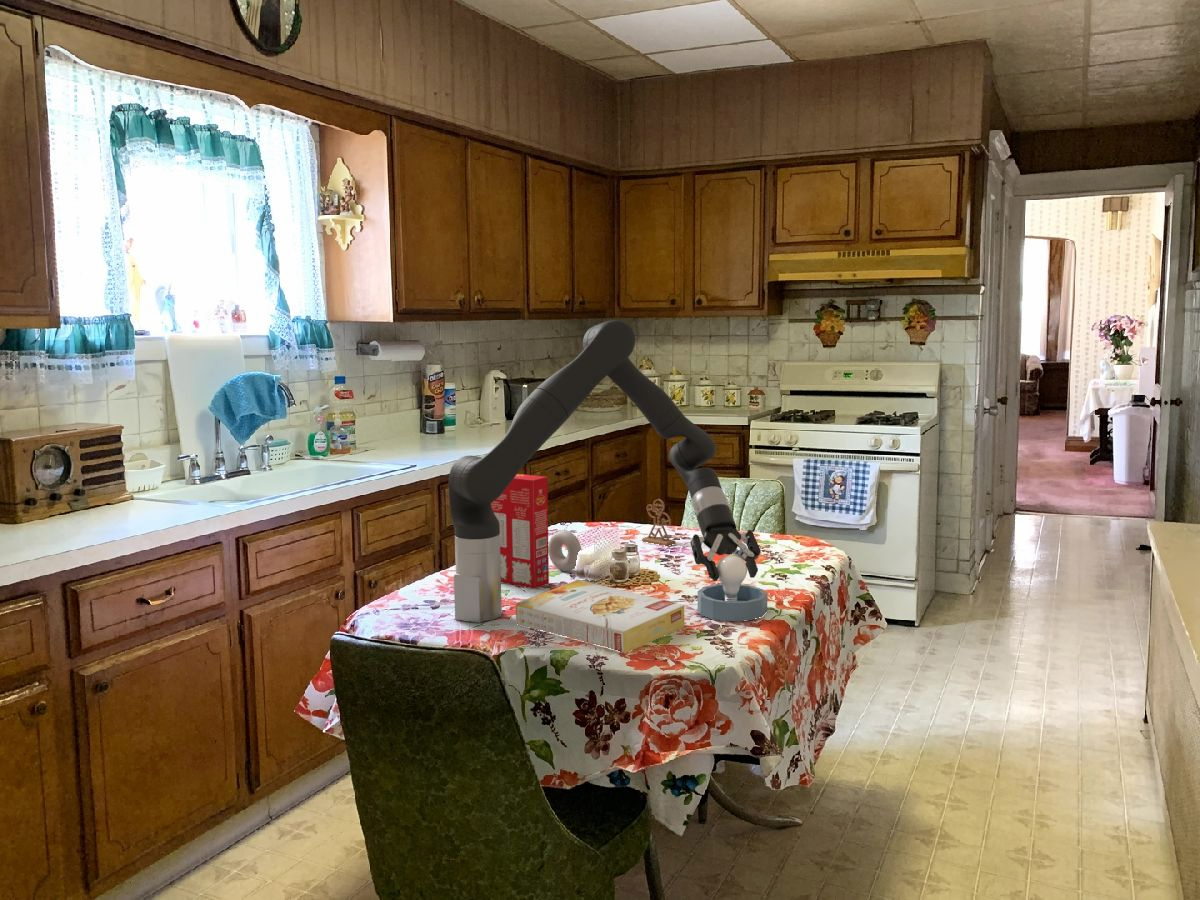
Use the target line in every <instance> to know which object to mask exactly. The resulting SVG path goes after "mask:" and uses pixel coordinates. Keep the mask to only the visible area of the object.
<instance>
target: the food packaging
mask: <svg viewBox="0 0 1200 900" xmlns="http://www.w3.org/2000/svg"><path fill="white" fill-rule="evenodd" d="M548 487H549V486H548V476H544V475H543V476H542V475H533V474H532V475H531V474H523V473H517V475H516V476H515V477H514V479H513V480H512V481H511V483H510V484H509V485H508V487H507V488H506V489H505V490H504V492H503V493H502V494H501V495H500V496H499V497H498V498H497V499H496V500H494V501H493V502H491V507H492V510H493V512H494V514H495V516H496V517H497V519H498V520H499V524H500V566H501V582H503V583H502V584H507V583H509V584H508V585H512V584H514V585H513V586H517V585H519V587H523V586H526V587H525V588H528V587H531V588H530V589H533V588H536V589H538V588H540V586H541V587H543V585H544V586H546V585H548V583H549V584H550V571H549V569H550V568H549V565H550V564H549V559H550V556H549V552H548V545H549V506H548V505H549V503H548V498H549V496H548ZM545 584H546V585H545ZM537 587H538V588H537Z"/></svg>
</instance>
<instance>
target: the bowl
mask: <svg viewBox="0 0 1200 900" xmlns="http://www.w3.org/2000/svg"><path fill="white" fill-rule="evenodd" d="M768 597H769V596H768V593H767V592H766V591H765V590H764V589H763V588H760V587H757V586H754V585H750V584H742V583H741V585H740V588H739V592H738V596H737V601H725V592H724V590H723V585H722V583H716V584H715V583H714V584H710V585H705V586H703V587H701V589H699V590H697V609H696V610H697V611H698V613H699V615H700V616H702V617H704V616H705V618H707V617H708V618H707V619H709V618H710V620H712V619H714V620H713V621H718V620H723V621H722V622H726V621H744V620H751V619H755V618H759V617H762V616H763V615H764V614H765V613H766V612H767V613H768Z"/></svg>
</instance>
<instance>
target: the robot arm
mask: <svg viewBox="0 0 1200 900" xmlns="http://www.w3.org/2000/svg"><path fill="white" fill-rule="evenodd" d="M635 345H636V333H635V330H634V329H633V327H632V326H631V325H630V324H628V322H626V321H623V320H617V319H612V320H607V321H604V322H601V323H598V324H596V325H593V326H592V327H589V329H587V331H586V332H585V334H584V336H583V340H582V348H583V350H582V351H581V352H580V353H579V354H578V355H577V357H575V358H574V359H573V360H571V362H569V363H568V364H566V365H565V366H563V367H562V368H560V369H559V370H557V371H556V372H554V373H553V374H552V375H550V376H548V378H547V379H545V380H544V381H543V382H541V384H539V385H538V386H537V387H536V388H535V389H534V390H533V391H532V392H531V393H530V394H529V395H528V396H527V397H526V398H525V399H524V401H522V403H521V404H520V405H519V406H518V408H517V411H516V413H515V415H514V416H513V419H512V421H511V424H510V426H509V428H508V431H507V432H506V434H505V435H504V437H503V438H502V439H501V440H500V441H499V442H498V443H497V444H496V445H495V446H494V447H493V448H492V449H491V450H490V451H489V452H488V453H487V454H485V455H484V456H483V457H480V456H478V455H477V456H476V455H465V456H462V457H460V458H458V459H457V460H456V461H455V462H454V463H453V464H452V466H451V468H450V471H449V476H448V499H449V512H450V518H451V523H452V525H453V529H454V553H455V554H454V555H455V557H454V559H455V573H454V575H453V589H454V590H453V591H454V592H453V594H454V599H453V600H454V619H455V620H458V621H459V620H460V621H463V622H464V621H465V622H470V623H471V622H472V623H478V624H479V623H480V624H481V623H483V622H487V621H492V620H496V619H498V618H500V617H501V616H502V583H501V566H500V524H499V520H498V519H497V517H496V516H495V514H494V512H493V510H492V507H491V502H493V501H494V500H496V499H497V498H498V497H499V496H500V495H501V494H502V493H503V492H504V490H505V489H506V488H507V487H508V485H509V484H510V483H511V481H512V480H513V479H514V477H515V476H516V475H517V474H519V472H520V471H521V469H522V468H523V467H524V466H525V464H526V463H527V462H528V461H529V460H530V459H531V457H532V456H534V454H535V453H537V452H538V450H540V448H542V446H543V445H545V443H546V442H547V441H548V440H549V439H550V438H551V437H552V436H553V435H554V434H555V433H556V432H557V431H558V430H559V429H560V428H561V426H563V425H564V424H565V423H566V422H567V420H568V419H569V418H570V417H571V416H572V415H573V413H574V412H575V411H577V409H578V408H579V407H580V406H581V405H582V403H583V402H584V401H585V400H586V399H587V398H588V396H589V395H590V394H591V393H592V391H594V389H595V388H596V387H597V386H598V384H600V383H601V381H603V380H604V379H605V378H606V377H608V378H609V379H610V380H611V381H612V382H613V383H614V384H615V385H616V386H617V387H618V388H619V389H620V390H621V391H622V392H623V394H625V395H626V397H628V399H630V400H631V402H632V403H633V404H634V405H635V406H636V407H637V409H638V410H639V411H640V413H642V415H643V417H644V418H646V420H647V421H648V423H649V424H650V425H651V427H652V428H653V429H654V430H655V431H656V433H657V434H658V435H659V436H660V437H661V438H662V439H664V440H668V439H672V438H675V437H684V439H682V440H680V441H678V442H676V444H674V445H673V446H672V447H671V448H670V449H669V454H668V457H669V460H670V463H671V464H672V466H673V467H674V468H675V470H676V471H677V472H678V473H679V475H680V476H681V478H682V479H683V481H684V482H685V485H686V487H687V490H688V492H689V495H690V498H691V501H692V502H691V503H692V507H693V511H694V515H695V518H696V520H697V523H698V526H699V530H700V533H701V535H702V536H699V535H698V534H696V533H695V534H694V535H693V536H692V538H691V540H690V542H689V543H690V544H689V545H690V546H691V552H692V555H693V559H694V562H695V564H696V565H704V566H705V568H706V572H707V574H708V577H709V579H711V580H712V582H717V581H718V580H719V573H718V570H717V564H716V562H715V560H714V558H715V555H717V556H724V555H736V556H738V557H740V558H741V559H742V560H743V561H744V562H745V564H746V567H747V572H748V575H749V578H755V577H756V576H757V574H758V572H759V568H758V565H757V562H756V560H757V559H758V557H759V556H760V554H761V553H762V551H761V547H760V545H759V544H758V541H757V538H756V537H755V534H754V532H753V530H751V529H749V530H747V531H746V532H741V533H740V532H739V530H737V529H738V528H737V525H736V524H737V523H736V522H735V519H734V516H733V512H732V509H731V507H730V504H729V502H728V499H727V496H726V495H725V492H724V491H723V488H722V486H721V482H720V480H719V479H720V478H719V476H718V474H717V472H716V471H715V470H714V469H713V468H712V467H711V468H710V467H700V466H702V465H703V464H705V463H706V462H708V461H711V460H712V459H714V457H715V456H716V454H717V447H716V443H715V441H714V439H713V438H712V437H711V436H710V434H709V433H708V432H706V431H704V430H703V429H702V428H700V426H697V425H696V424H695V423H694V422H692V421H691V420H690V419H689V418H687V417H686V416H685V414H683V412H682V411H681V410H680V408H679V407H678V406H677V405H676V403H675V402H674V401H673V399H672V398H671V397H670V396H669V395H668V394H667V392H666V391H664V389H662V388H661V387H660V386H658V384H656V383H655V382H654V381H652V380H651V379H649V378H648V377H647V376H646V375H645V374H644V373H642V371H640V370H639V369H638V367H636V366H635V364H634V363H633V362H632V361H631V359H630V358H629V357H630V356H631V355H632V353H633V351H634V348H635ZM699 467H700V468H699ZM741 540H742V541H741ZM703 544H704V546H706V548H708V549H709V551H708V553H707V555H705V553H704V551H703V547H702V546H703ZM738 548H739V549H738Z"/></svg>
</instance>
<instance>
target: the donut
mask: <svg viewBox="0 0 1200 900" xmlns="http://www.w3.org/2000/svg"><path fill="white" fill-rule="evenodd" d="M563 545H564V546H565V547H566V549H567V555H566V556H565V554H564V553H563V549H562V548H563ZM580 550H581V551H582V545H581V543H580V541H579V539H578V537H577V536H576V535H575V534H574V533H573V532H572V531H570V530H569V531H568V530H557V531H556V532H554V533H553V534H552V536H551V537H550V539H549V540H548V556H549V559H550V561H551V563H552V564H553V566H555V568H557V569H558V570H560V571H562V572H570V571H573V570H574V569H576V568H575V566H576V560H577V555H578V552H579V551H580Z"/></svg>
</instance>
